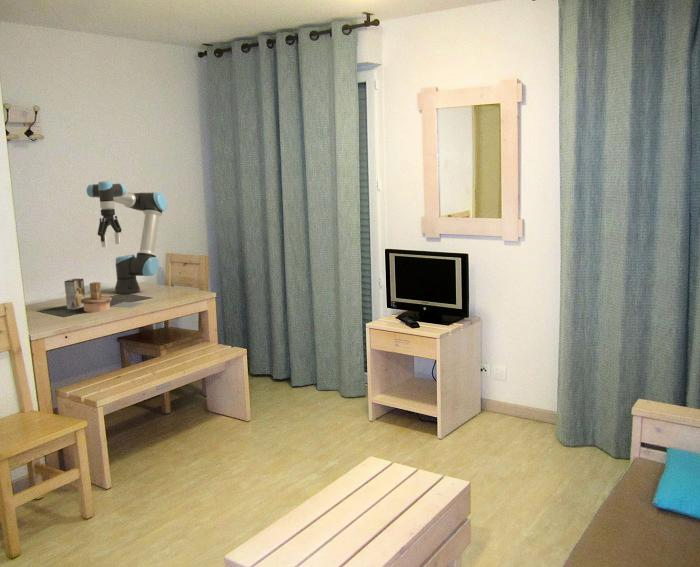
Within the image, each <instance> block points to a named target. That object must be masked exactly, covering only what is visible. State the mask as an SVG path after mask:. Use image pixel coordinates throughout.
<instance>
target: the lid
mask: <svg viewBox="0 0 700 567" xmlns="http://www.w3.org/2000/svg"><path fill="white" fill-rule="evenodd" d="M89 293H90V297H85V298H84V299H82V300H81V303H83V304H98V303H105V302H109V301H110V302H111V301H112V300H113V297H112V296H107V295H102V286H101V282H99V281H98V282H97V281H95V282H94V281H93V282H90V283H89Z"/></svg>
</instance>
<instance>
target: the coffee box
mask: <svg viewBox="0 0 700 567" xmlns="http://www.w3.org/2000/svg"><path fill="white" fill-rule="evenodd" d="M64 290H65V299H66V301H65V302H66V309H67V310H76V309H77V310H78V309H80V308H84V305H83V303H81V300H82V299H84V298H86V292H85V281H84V278H71V279H67V280H64Z"/></svg>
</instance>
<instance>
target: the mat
mask: <svg viewBox="0 0 700 567" xmlns="http://www.w3.org/2000/svg"><path fill="white" fill-rule="evenodd" d="M143 304H144V302H138V301H137V302H135V301H134V302H133V301H132V302H129V301H123V302H120V303H119V302H118V303H117V304H114V305H113V304H112V305H110V308H127V309H128V308H129V309H130V308H132V309H133V308H134V307H138V306H139V305H143Z"/></svg>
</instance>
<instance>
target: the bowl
mask: <svg viewBox="0 0 700 567" xmlns="http://www.w3.org/2000/svg"><path fill="white" fill-rule="evenodd" d="M83 305H84V307H83V311H84V312H87V313H88V312H89V313H96V312H97V313H98V312H105V311H108V310H110V309H111V307H110V306H111V301H109V302H105V303H98V304H83Z"/></svg>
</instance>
